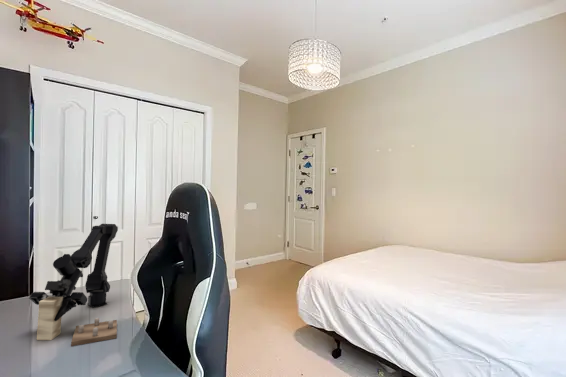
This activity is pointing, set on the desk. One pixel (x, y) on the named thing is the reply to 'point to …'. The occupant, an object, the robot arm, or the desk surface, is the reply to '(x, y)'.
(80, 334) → the board
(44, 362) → the desk surface
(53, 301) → the birch block
